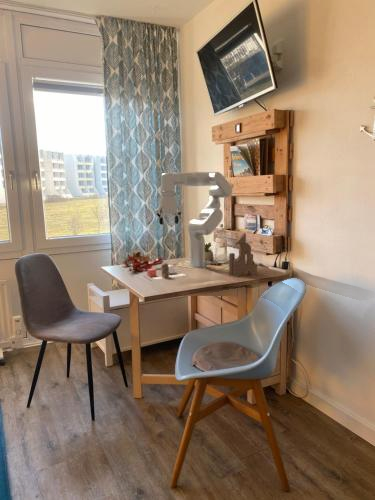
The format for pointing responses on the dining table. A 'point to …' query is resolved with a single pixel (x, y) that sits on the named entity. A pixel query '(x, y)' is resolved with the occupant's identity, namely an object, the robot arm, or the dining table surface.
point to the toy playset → (141, 262)
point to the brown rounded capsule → (165, 270)
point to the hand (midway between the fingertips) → (169, 223)
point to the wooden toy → (242, 259)
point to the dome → (171, 269)
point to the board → (153, 273)
